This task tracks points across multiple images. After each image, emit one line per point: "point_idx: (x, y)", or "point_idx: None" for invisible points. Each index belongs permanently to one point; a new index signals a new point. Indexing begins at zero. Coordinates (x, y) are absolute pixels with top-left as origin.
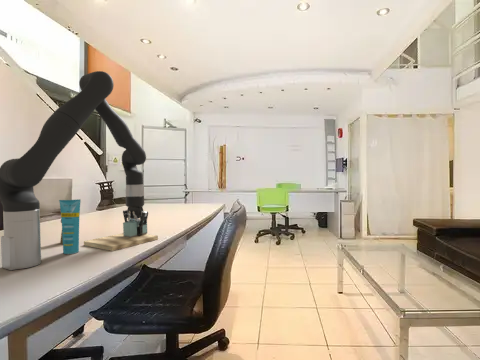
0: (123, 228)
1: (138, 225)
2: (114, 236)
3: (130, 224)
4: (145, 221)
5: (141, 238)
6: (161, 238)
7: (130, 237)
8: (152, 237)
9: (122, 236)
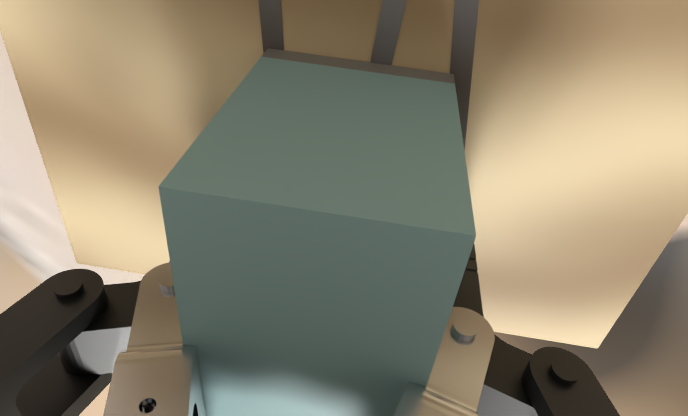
0: (455, 143)
1: (157, 279)
2: (658, 29)
3: (173, 180)
4: (35, 384)
5: (69, 67)
6: (113, 273)
7: (268, 50)
8: (58, 190)
9: (489, 83)
